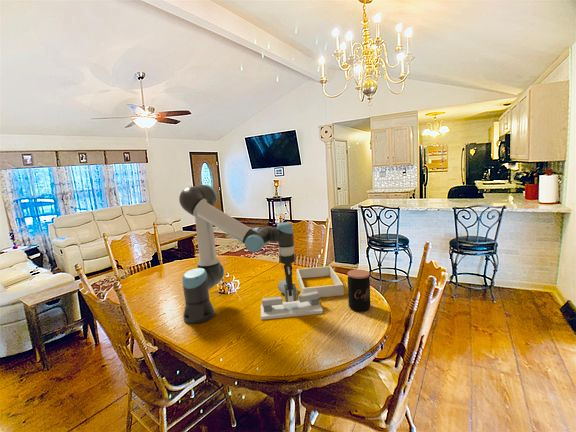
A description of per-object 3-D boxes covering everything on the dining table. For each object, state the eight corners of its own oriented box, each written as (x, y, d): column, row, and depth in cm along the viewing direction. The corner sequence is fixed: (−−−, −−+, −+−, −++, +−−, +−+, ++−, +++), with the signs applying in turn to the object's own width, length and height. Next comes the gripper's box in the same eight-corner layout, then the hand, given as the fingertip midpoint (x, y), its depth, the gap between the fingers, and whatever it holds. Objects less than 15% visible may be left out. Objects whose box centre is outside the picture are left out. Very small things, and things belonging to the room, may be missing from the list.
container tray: (303, 299, 171) (303, 288, 170) (297, 278, 202) (296, 269, 201) (343, 295, 172) (343, 284, 171) (330, 274, 204) (330, 265, 203)
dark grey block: (296, 300, 156) (295, 286, 154) (285, 302, 155) (284, 287, 154) (295, 296, 161) (294, 281, 160) (284, 297, 161) (283, 283, 159)
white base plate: (261, 319, 151) (259, 306, 150) (261, 306, 165) (260, 294, 164) (322, 313, 153) (322, 299, 152) (317, 301, 167) (317, 288, 166)
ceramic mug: (285, 298, 173) (284, 284, 172) (278, 293, 180) (277, 280, 179) (301, 293, 179) (300, 280, 178) (293, 288, 186) (293, 276, 185)
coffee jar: (354, 314, 150) (353, 278, 147) (344, 304, 161) (343, 271, 158) (374, 310, 153) (373, 274, 150) (363, 301, 163) (362, 267, 160)
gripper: (296, 259, 145) (299, 306, 149) (292, 248, 164) (295, 290, 167) (280, 260, 145) (284, 307, 149) (278, 249, 163) (281, 292, 167)
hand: (290, 298), depth 158 cm, fingers closed on dark grey block, 5 cm apart
